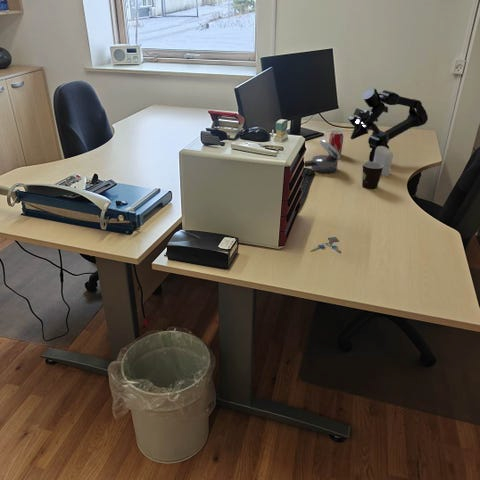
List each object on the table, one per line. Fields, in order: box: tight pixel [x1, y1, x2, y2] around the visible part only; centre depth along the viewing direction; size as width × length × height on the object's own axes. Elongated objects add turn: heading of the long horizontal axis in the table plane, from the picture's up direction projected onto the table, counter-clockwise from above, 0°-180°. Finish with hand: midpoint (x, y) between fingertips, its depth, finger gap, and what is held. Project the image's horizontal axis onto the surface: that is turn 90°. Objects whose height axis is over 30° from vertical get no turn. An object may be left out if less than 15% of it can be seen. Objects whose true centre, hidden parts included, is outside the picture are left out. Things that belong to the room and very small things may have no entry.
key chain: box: [310, 236, 342, 253], centre depth 148 cm, size 14×8×1 cm, turn 141°
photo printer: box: [373, 146, 394, 177], centre depth 207 cm, size 10×4×12 cm, turn 17°
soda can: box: [327, 130, 344, 157], centre depth 229 cm, size 7×7×12 cm
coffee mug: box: [361, 161, 383, 190], centre depth 193 cm, size 12×9×10 cm
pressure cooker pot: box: [304, 154, 339, 175], centre depth 211 cm, size 18×12×5 cm, turn 113°
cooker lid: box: [319, 139, 342, 160], centre depth 209 cm, size 12×12×2 cm
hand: (351, 138), depth 211 cm, fingers closed
